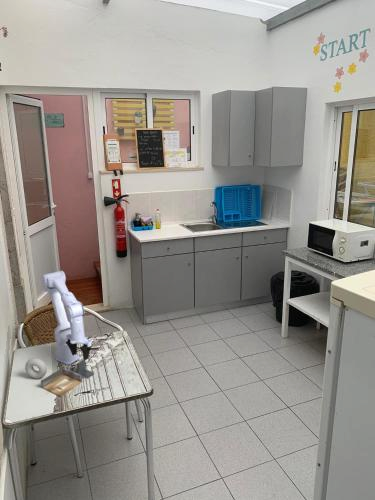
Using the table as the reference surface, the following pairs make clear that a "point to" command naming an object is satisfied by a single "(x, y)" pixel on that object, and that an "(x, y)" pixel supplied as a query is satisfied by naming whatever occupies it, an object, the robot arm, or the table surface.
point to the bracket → (84, 369)
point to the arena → (61, 381)
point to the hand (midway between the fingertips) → (80, 356)
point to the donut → (32, 371)
